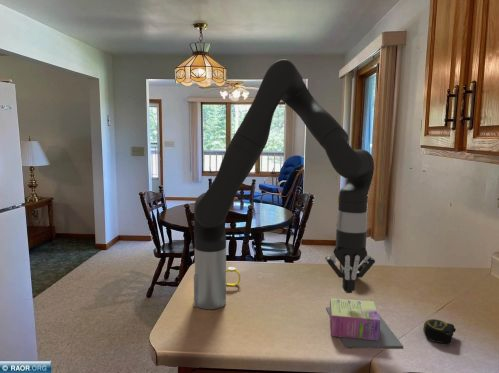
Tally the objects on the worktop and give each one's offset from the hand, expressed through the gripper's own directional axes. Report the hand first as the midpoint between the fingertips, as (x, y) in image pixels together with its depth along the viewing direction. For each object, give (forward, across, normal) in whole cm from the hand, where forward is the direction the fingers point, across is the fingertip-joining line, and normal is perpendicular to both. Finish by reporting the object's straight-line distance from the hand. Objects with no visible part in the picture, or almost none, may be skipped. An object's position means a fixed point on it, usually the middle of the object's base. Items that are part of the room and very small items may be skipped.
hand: (348, 291), depth 98 cm
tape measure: (+10, +22, -6) cm, 25 cm away
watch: (+10, -31, +27) cm, 42 cm away
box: (+6, -5, -1) cm, 8 cm away
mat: (+10, +4, 0) cm, 10 cm away
